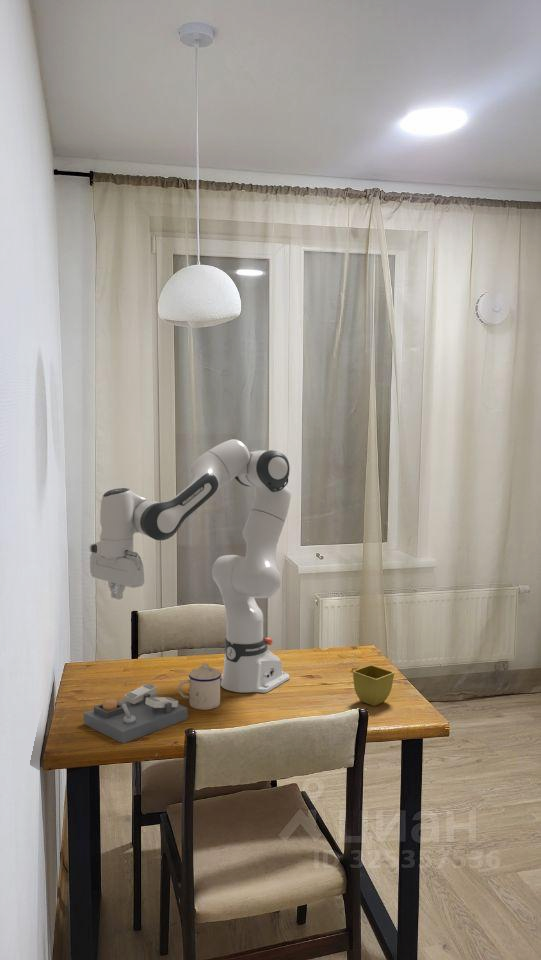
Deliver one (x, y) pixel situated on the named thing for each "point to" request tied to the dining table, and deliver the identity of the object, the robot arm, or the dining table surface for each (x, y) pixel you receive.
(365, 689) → the flower pot
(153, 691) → the rocker
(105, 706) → the button
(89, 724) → the panel
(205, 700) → the teacup with lid
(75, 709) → the dining table surface
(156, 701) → the rocker
